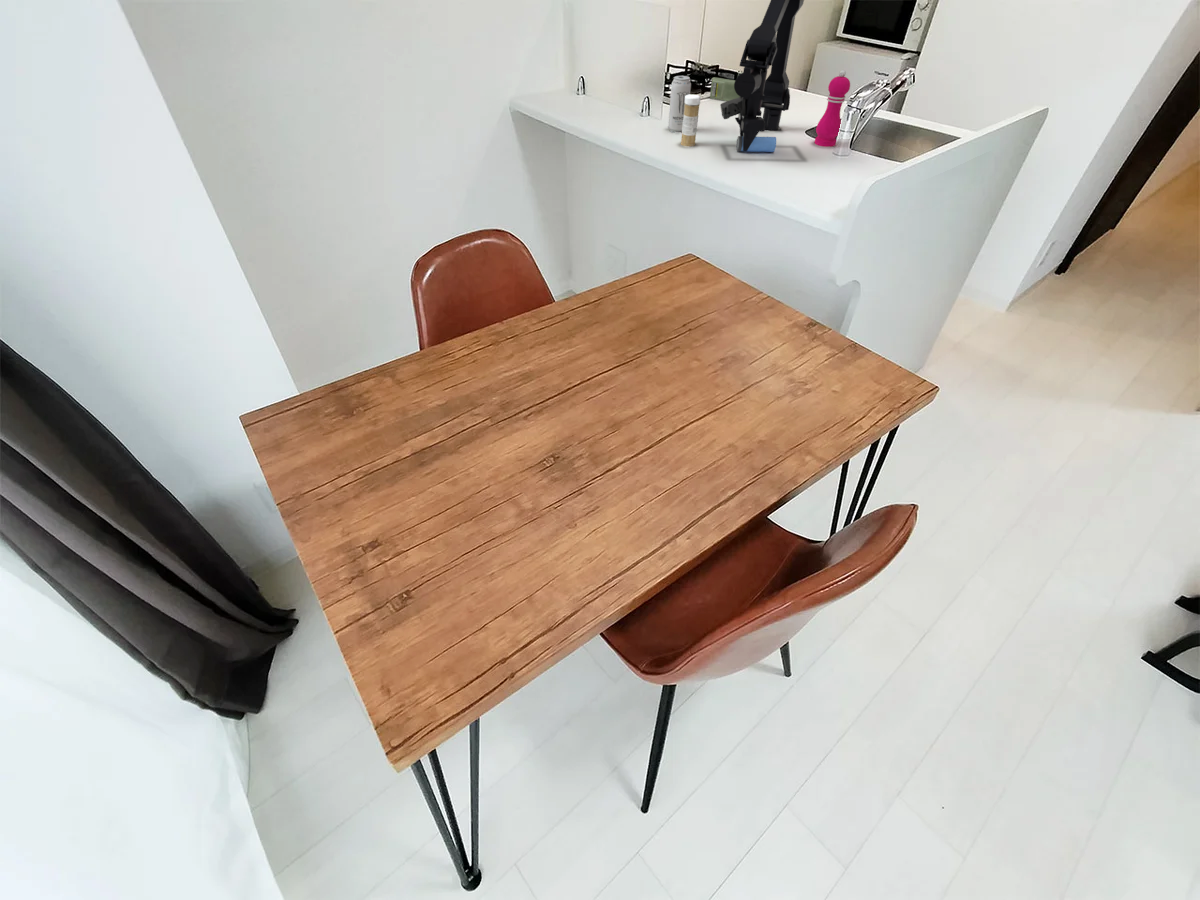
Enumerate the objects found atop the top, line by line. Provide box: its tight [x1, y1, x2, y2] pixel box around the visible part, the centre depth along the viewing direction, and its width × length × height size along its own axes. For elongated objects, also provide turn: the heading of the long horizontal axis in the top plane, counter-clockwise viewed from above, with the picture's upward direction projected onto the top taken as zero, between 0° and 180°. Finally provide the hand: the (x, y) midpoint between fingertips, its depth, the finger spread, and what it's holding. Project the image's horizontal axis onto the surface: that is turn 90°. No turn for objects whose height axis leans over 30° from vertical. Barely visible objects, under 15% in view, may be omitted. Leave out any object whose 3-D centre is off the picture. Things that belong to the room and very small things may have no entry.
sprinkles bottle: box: [680, 93, 702, 147], centre depth 180 cm, size 5×5×14 cm
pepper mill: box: [814, 69, 851, 148], centre depth 180 cm, size 7×7×20 cm
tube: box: [735, 135, 777, 153], centre depth 179 cm, size 4×11×4 cm, turn 90°
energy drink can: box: [667, 75, 692, 134], centre depth 190 cm, size 6×6×15 cm
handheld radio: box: [709, 77, 740, 102], centre depth 219 cm, size 7×3×25 cm
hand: (743, 148), depth 179 cm, fingers closed on tube, 4 cm apart
